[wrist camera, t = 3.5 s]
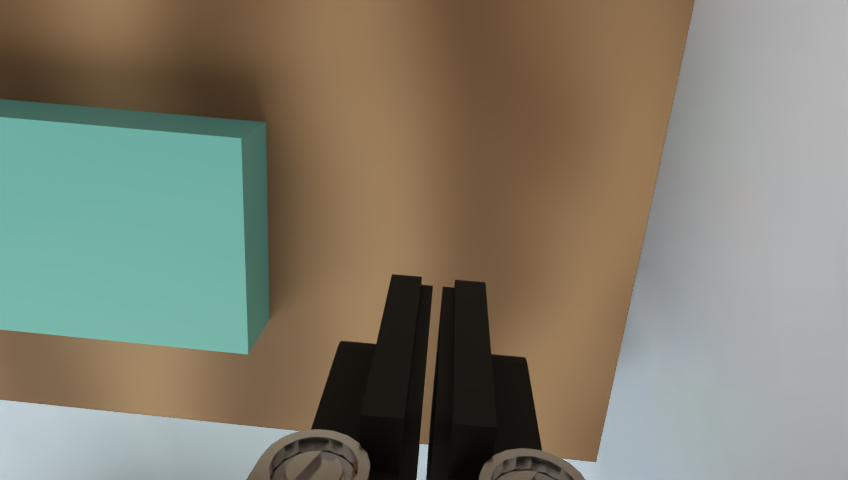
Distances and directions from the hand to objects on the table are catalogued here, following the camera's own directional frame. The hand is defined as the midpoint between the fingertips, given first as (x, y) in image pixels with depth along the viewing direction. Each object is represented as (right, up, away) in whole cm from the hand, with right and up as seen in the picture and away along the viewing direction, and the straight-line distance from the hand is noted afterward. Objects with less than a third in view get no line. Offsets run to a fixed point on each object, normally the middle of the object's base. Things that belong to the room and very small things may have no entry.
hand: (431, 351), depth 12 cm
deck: (-5, +4, +11) cm, 12 cm away
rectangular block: (-9, +3, +7) cm, 12 cm away
